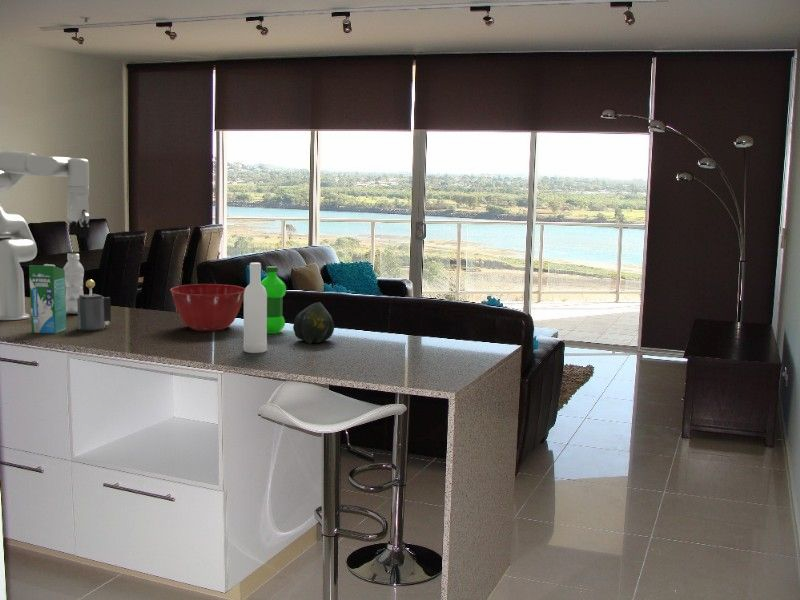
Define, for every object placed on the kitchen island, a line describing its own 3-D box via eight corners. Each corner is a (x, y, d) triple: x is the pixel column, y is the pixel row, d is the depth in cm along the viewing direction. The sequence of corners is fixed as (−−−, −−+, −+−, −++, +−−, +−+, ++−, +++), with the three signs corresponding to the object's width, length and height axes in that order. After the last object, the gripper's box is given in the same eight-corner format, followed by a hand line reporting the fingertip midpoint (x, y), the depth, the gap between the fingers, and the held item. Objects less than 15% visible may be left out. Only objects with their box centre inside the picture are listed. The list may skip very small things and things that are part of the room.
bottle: (256, 354, 291) (256, 264, 287) (238, 351, 295) (238, 263, 291) (271, 350, 298) (272, 263, 294) (254, 347, 302) (254, 261, 298)
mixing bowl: (258, 330, 334) (258, 290, 332) (186, 337, 318) (186, 295, 316) (228, 319, 357) (228, 282, 355) (160, 325, 341) (159, 286, 339)
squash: (286, 330, 306) (315, 298, 306) (285, 324, 320) (312, 294, 321) (316, 356, 308) (345, 325, 309) (314, 350, 323) (341, 320, 323)
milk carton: (66, 329, 328) (64, 263, 324) (55, 333, 319) (52, 265, 315) (43, 328, 328) (41, 262, 325) (31, 332, 319) (28, 264, 316)
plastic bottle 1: (89, 314, 363) (87, 254, 360) (70, 316, 357) (68, 255, 353) (79, 311, 369) (78, 252, 365) (60, 313, 362) (58, 253, 359)
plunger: (80, 322, 329) (79, 279, 327) (95, 320, 333) (94, 278, 331) (87, 324, 325) (86, 281, 323) (102, 322, 329) (101, 279, 327)
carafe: (74, 328, 330) (73, 295, 328) (104, 325, 338) (103, 292, 336) (85, 332, 323) (84, 297, 321) (115, 328, 331) (115, 295, 330)
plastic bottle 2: (253, 333, 328) (253, 267, 325) (266, 329, 338) (266, 264, 335) (278, 335, 325) (278, 268, 322) (289, 331, 335) (290, 266, 332)
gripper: (59, 189, 335) (59, 234, 337) (78, 192, 322) (78, 238, 325) (78, 190, 340) (79, 233, 343) (97, 192, 327) (97, 238, 330)
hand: (78, 236), depth 334 cm, fingers open, 9 cm apart
